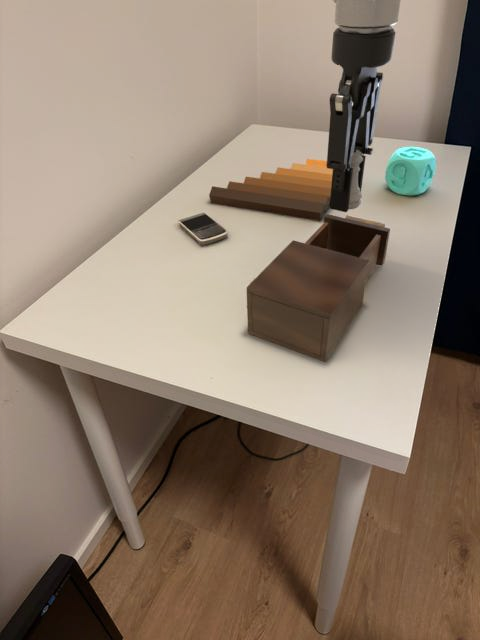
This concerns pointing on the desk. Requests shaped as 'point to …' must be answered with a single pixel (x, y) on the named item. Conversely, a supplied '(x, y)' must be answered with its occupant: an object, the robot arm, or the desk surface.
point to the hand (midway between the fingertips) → (345, 202)
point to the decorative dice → (410, 170)
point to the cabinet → (306, 298)
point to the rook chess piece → (355, 181)
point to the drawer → (353, 238)
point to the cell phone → (203, 228)
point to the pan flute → (282, 191)
